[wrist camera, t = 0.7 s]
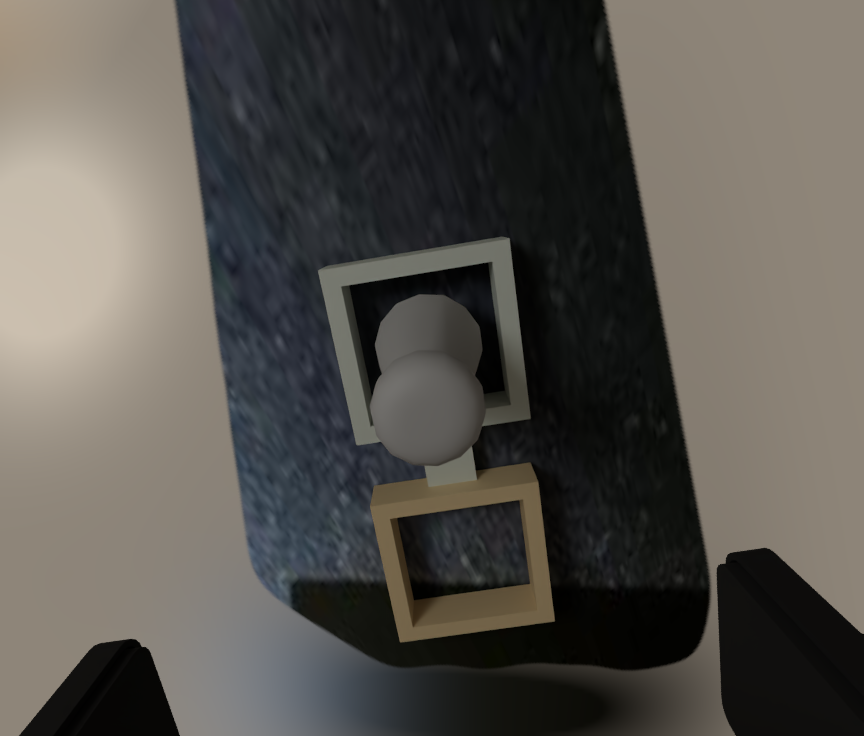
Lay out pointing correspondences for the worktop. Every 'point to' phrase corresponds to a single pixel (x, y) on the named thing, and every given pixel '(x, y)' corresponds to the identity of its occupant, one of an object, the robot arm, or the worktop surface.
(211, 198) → the worktop surface
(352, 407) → the sockets
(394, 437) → the salt shaker
